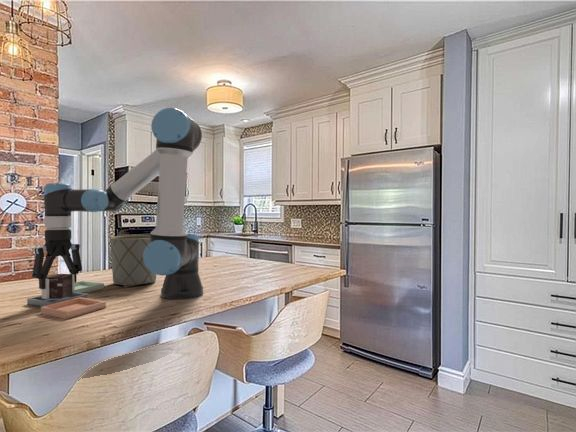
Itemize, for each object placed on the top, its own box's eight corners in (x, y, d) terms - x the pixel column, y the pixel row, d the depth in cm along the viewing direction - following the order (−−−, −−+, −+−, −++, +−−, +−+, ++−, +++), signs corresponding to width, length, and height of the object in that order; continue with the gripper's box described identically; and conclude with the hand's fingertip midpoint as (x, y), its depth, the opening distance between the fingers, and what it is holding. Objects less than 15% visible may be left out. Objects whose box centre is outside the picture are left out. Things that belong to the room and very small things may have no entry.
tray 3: (104, 288, 134) (104, 283, 134) (73, 295, 123) (73, 290, 123) (83, 285, 139) (83, 280, 139) (52, 292, 128) (52, 286, 128)
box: (43, 299, 111) (42, 277, 111) (54, 294, 117) (54, 273, 117) (62, 299, 111) (62, 277, 111) (72, 294, 117) (72, 273, 117)
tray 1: (87, 299, 117) (87, 294, 117) (51, 309, 106) (51, 303, 106) (64, 295, 122) (64, 290, 122) (27, 304, 111) (27, 298, 111)
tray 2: (105, 307, 108) (105, 301, 108) (67, 319, 97) (67, 312, 97) (80, 303, 113) (80, 297, 113) (40, 313, 102) (40, 307, 102)
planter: (102, 283, 144) (102, 236, 143) (145, 276, 158) (145, 234, 158) (122, 290, 131) (122, 239, 131) (166, 282, 146) (167, 237, 146)
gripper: (80, 227, 125) (80, 287, 125) (16, 230, 106) (17, 301, 106) (93, 227, 122) (94, 289, 122) (31, 230, 103) (32, 304, 103)
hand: (58, 295), depth 114 cm, fingers closed on box, 8 cm apart
